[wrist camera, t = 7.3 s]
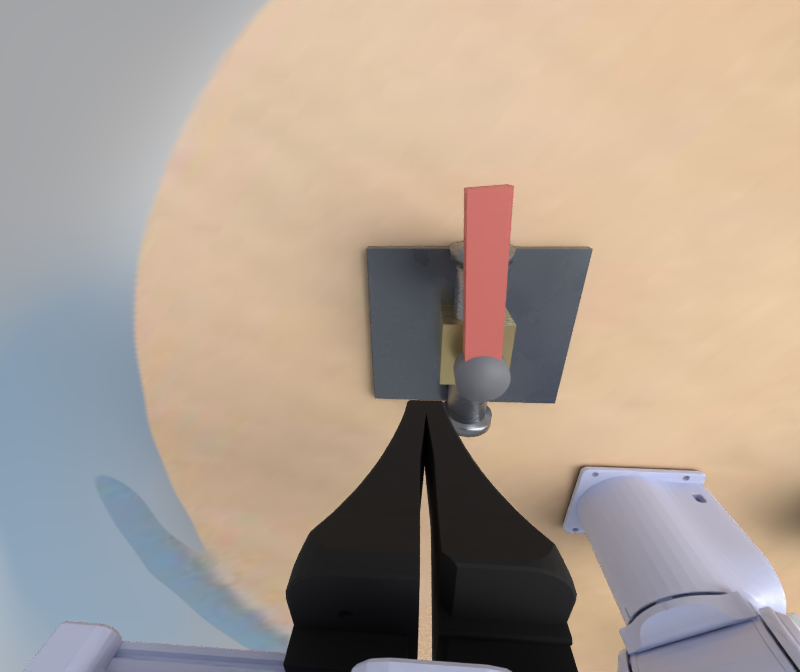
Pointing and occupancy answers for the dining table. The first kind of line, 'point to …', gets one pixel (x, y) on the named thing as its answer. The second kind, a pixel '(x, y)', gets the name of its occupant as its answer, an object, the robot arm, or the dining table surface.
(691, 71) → the dining table surface
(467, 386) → the valve lever
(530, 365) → the valve assembly
